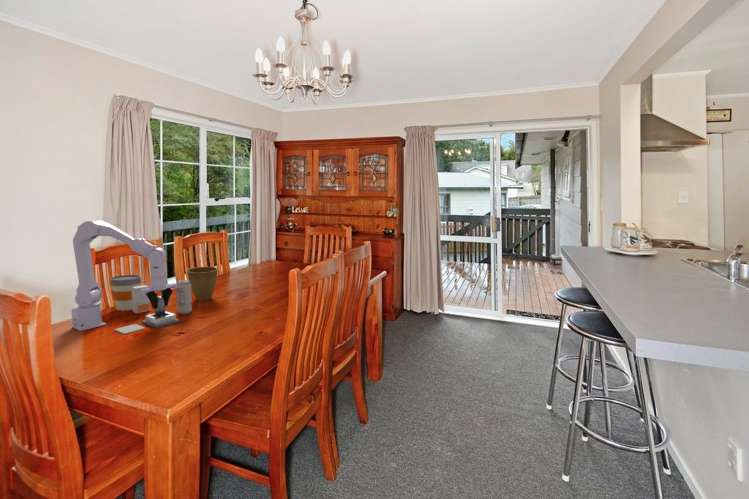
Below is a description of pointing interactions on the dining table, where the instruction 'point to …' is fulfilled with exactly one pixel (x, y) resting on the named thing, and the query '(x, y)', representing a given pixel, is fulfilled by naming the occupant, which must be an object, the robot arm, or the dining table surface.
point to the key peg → (160, 306)
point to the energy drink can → (184, 297)
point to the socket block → (160, 320)
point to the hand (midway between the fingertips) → (160, 307)
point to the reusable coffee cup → (124, 290)
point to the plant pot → (203, 281)
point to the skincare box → (140, 300)
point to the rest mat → (129, 329)
